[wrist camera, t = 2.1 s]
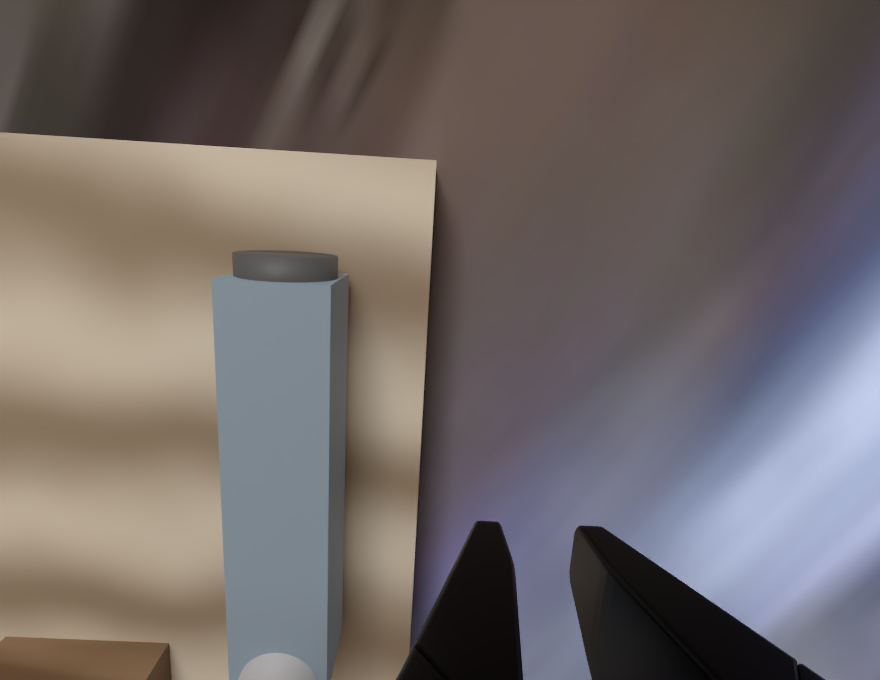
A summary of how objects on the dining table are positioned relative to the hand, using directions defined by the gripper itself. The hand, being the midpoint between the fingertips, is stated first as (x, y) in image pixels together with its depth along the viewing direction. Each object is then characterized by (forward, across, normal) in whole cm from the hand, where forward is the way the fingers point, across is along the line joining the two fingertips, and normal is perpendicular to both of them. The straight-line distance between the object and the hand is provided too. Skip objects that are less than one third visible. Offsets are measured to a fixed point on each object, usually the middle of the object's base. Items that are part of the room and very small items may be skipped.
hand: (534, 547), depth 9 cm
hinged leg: (+8, +6, +3) cm, 11 cm away
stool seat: (+11, +12, +3) cm, 17 cm away
